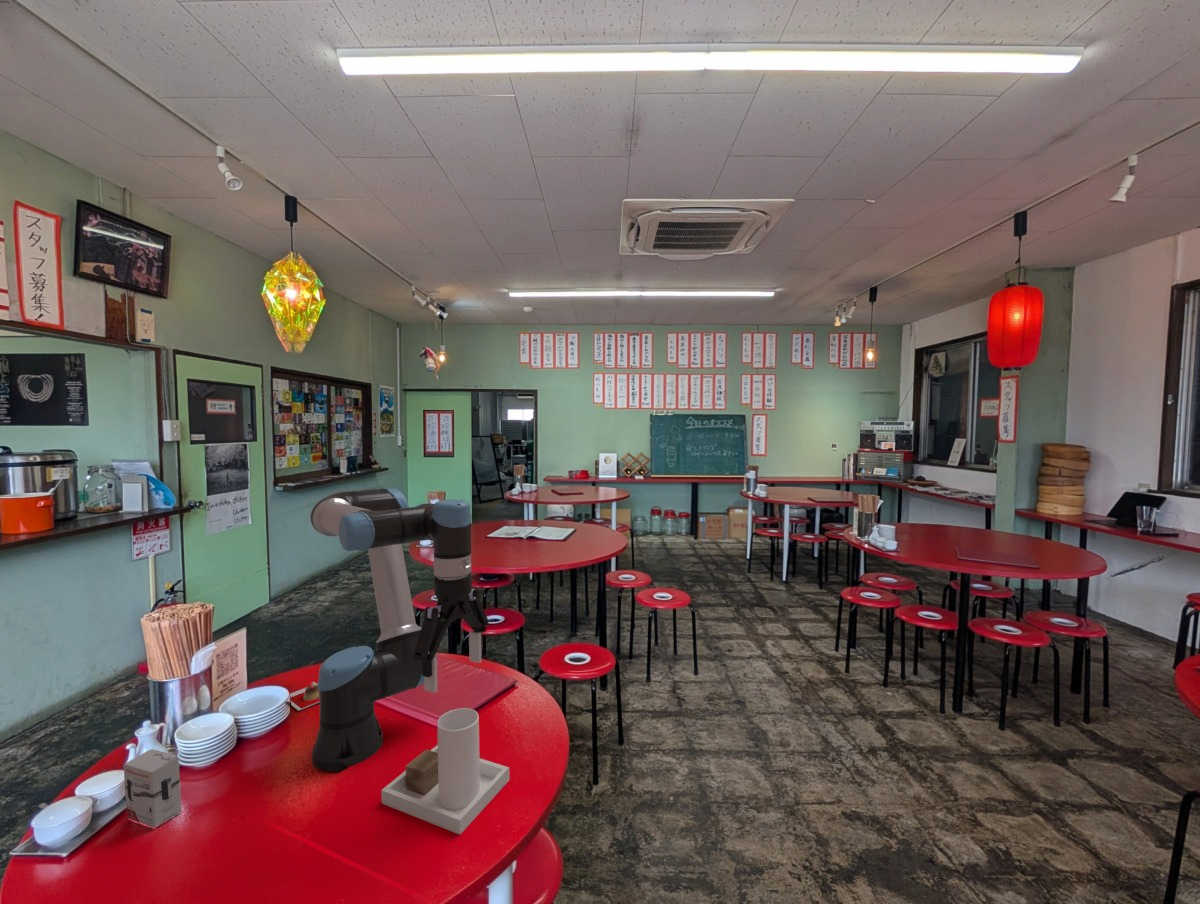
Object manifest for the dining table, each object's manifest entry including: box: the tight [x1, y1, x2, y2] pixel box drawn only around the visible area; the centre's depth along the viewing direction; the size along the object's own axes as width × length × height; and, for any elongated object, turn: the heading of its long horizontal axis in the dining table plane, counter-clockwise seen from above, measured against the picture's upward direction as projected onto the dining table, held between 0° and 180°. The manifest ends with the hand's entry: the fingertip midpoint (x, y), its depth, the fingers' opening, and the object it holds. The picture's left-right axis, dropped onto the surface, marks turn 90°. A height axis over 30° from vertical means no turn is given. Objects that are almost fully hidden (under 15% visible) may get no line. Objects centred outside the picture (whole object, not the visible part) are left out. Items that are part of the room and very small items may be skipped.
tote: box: [381, 744, 510, 835], centre depth 104 cm, size 20×16×4 cm
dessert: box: [289, 681, 319, 712], centre depth 144 cm, size 12×12×5 cm
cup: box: [437, 707, 480, 809], centre depth 102 cm, size 8×8×16 cm
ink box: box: [123, 748, 182, 828], centre depth 99 cm, size 8×5×12 cm, turn 72°
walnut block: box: [405, 749, 439, 796], centre depth 106 cm, size 5×6×5 cm
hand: (454, 675), depth 104 cm, fingers open, 13 cm apart
